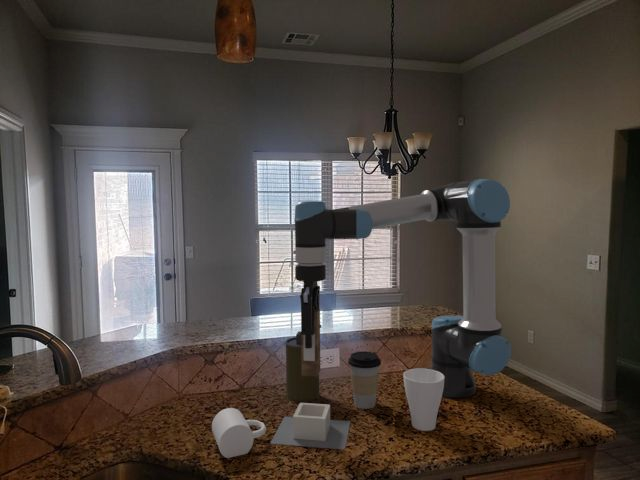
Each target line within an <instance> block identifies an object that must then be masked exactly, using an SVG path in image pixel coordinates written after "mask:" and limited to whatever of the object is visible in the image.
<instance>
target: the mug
mask: <svg viewBox="0 0 640 480" xmlns="http://www.w3.org/2000/svg"><path fill="white" fill-rule="evenodd" d="M252 426H256V427H259V428H258V429H257V430H251V428H250V427H252ZM266 430H267V426H266V424H265V423H264V422H262V421H260V420H256V419H245V417H244V415H243V413H242V412H241V411H240V410H239V409H237V408H233V407H227V408H224V409H222V410H219V412H218V413H217V414H216V415H215V416H214V417H213V420H212V423H211V432H212V434H213V436H214V439H215V441H216V442H215V443H216V444H217V447H218V450H219V452H220V454H221V455H222V457H224V458H226V459H231V458H233V457H238V456H242V455H246V454H247V455H248V453H249V452H250V451H251V449H252V447H253V445H254V440H255V439H256V438H260V437H261V436H263V435H264V434H266V432H267V431H266Z"/></svg>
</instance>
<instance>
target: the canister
mask: <svg viewBox="0 0 640 480" xmlns="http://www.w3.org/2000/svg"><path fill="white" fill-rule="evenodd" d="M300 332H301V331H297V333H296V334H295V335H296V336H294V337H290V338H287V339H285V342H284V344H285V380H286V381H285V382H286V383H285V384H286V385H285V386H286V388H285V389H286V391H285V392H286V394H285V396H286V398H287V399H288V400H290V401H293V402H300V403H308V402H311V401H314V400H317V399H320V397H321V393H320V374H319V375H318V377H315V376H302V357H301V335H300Z"/></svg>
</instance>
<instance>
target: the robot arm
mask: <svg viewBox="0 0 640 480" xmlns="http://www.w3.org/2000/svg"><path fill="white" fill-rule="evenodd" d="M510 208H511V199H510V195H509V193H508V191H507V188H506V187H504V186H503V185H502V183H501V182H500V181H497V180H495V179H491V178H479V179H471V180H465V181H457V182H451V183H448V184H445V185H443V186H442V185H441V186H438V187H434V188H431V189H425V190H423V191H422V192H421V193H420V194H416V195H410V196H405V197H399V198H398V197H397V198H392V199H388V200H387V199H386V200H383V201H382V200H381V201H375V202H370V203H363V204H358V205H352V206H351V205H350V206H346V207H340V208H333V209H330V208H327V207H326V203H325V202H324V201H319V200H318V201H317V200H315V201H313V200H308V201H307V200H305V201H304V200H303V201H299V202H296V204H295V208H294V220H293V222H294V237H295V238H294V241H295V244H294V245H295V247H294V250H293V252H292V254H293V255H294V256H295V257H294V259H295V260H294V262H295V263H296V265H295V267H294V269H295V270H294V271H295V273H294V274H295V275H294V276H295V277H294V278H295V280H296V281H298V282H302V283H303V287H302V288H301V289H300V291H301V293H300V295H299V298H300V327H301V328H300V329H301V332H300V335H303V347H304V361H315V334H314V309H320V295H321V293H320V291H321V290H320V289H321V287H320V285H318V284H319V283H318V282H322V281H324V280H326V278H327V275H326V274H327V270H326V267H327V266H326V264H324V263H326V262H327V255H326V254H327V253H326V252H327V249H326V248H327V246H326V240H360V239H367V238H368V237H370V236H371V234H372V231H373V230H374V229H380V228H385V227H390V226H397V225H402V224H407V223H412V222H418V221H419V222H420V221H423V220H425V221H426V222H430V223H431V222H436V221H437V222H438V221H449V222H450V221H451V222H452V221H454V222H456V230H457V231H459V233H460V234H461V235H462V287H463V288H462V302H463V303H462V305H463V306H462V307H463V309H462V310H463V311H462V312H463V313H462V314H463V315H442V316H436V317H434V318H433V319H432V322H431V328H430V329H431V364H430V367H429V369H432V370H435V371H438V372H440V373H442V374H443V375H444V377H445V379H444V389H443V393H442V397H444V398H449V399H450V398H452V399H462V398H463V399H464V398H469V397H472V396H473V395H475V394H476V392H477V390H476V389H477V387H476V386H477V383H476V380H475V378H474V375H473V372H475V373H479V374H480V375H483V376H494V375H496V374H498V373H500V372H502V371H503V369H504V368H505V367H506V366H507V365H508V364H509V361H510V359H511V355H512V348H511V345H510V342H508V341H507V340H508V339H506V338H505V337H503V336H502V335H503V333H502V331H503V330H502V327H503V326H502V324H501V322H499V320H497V318H496V233H497V232H498V231H499V230H500V229H501V228H502V227H501V226H502V224H501V223H502V220H503V219H505V218H506V216H507V214H508V213H509V212H510ZM321 328H322V324H320V329H321Z"/></svg>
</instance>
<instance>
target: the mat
mask: <svg viewBox="0 0 640 480" xmlns="http://www.w3.org/2000/svg"><path fill="white" fill-rule="evenodd" d="M350 426H351V420H339V419H338V420H337V419H330V428H329V431H328V434H327V438H326V441H318V440H305V439H293V416H284V417H283V418H282V420H281V422H280V424H279V425H278V428H277V429H276V432H275V434H274V435H273V437H272V439H271V441H270V442H269V444H272V445H283V446H285V445H286V446H295V447H296V446H297V447H309V448H318V449H320V448H321V449H322V448H323V449H333V450H346V444H347V440H348V435H349V430H350Z"/></svg>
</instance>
